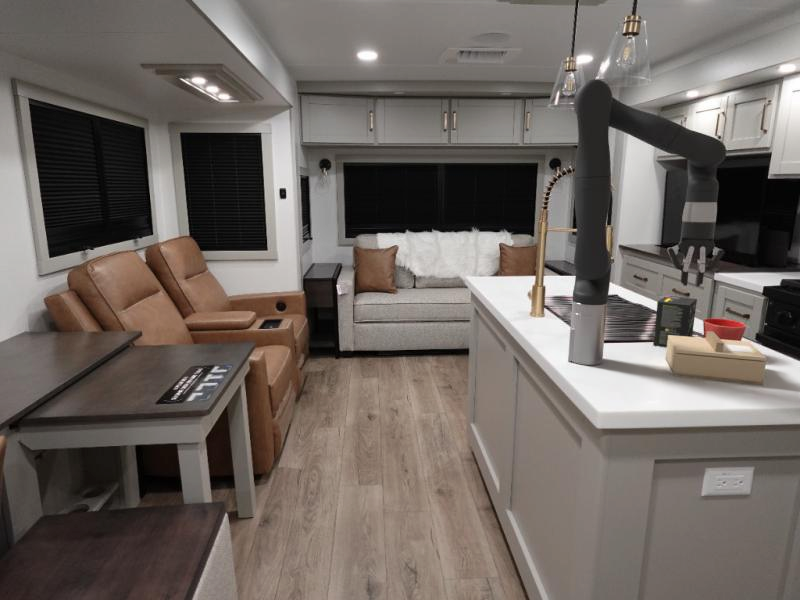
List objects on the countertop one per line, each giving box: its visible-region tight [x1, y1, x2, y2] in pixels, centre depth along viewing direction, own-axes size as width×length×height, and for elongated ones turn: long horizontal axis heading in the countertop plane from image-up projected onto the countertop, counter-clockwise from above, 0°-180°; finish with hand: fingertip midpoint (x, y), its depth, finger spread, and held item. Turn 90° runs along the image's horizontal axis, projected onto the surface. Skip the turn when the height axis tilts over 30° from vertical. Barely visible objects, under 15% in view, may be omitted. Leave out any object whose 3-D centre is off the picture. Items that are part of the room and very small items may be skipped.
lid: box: [668, 331, 768, 362], centre depth 137 cm, size 20×15×3 cm
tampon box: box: [652, 295, 698, 348], centre depth 161 cm, size 11×9×15 cm
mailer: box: [665, 339, 767, 386], centre depth 138 cm, size 20×15×6 cm
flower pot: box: [702, 317, 747, 341], centre depth 152 cm, size 11×11×10 cm
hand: (691, 285), depth 136 cm, fingers open, 2 cm apart
